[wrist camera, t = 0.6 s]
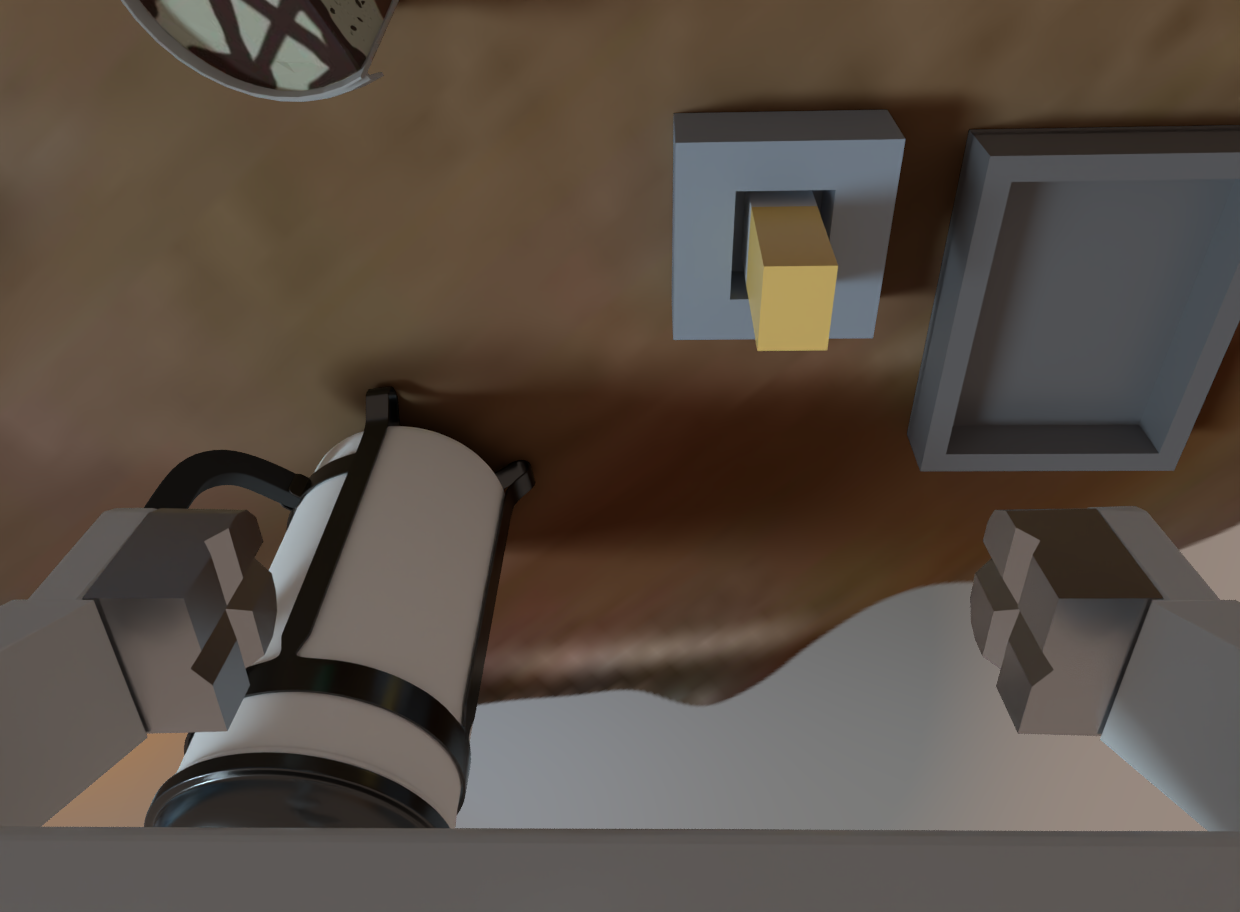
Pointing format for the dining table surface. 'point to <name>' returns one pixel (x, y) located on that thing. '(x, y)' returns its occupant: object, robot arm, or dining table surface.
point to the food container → (272, 42)
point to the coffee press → (357, 635)
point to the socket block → (779, 161)
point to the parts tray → (1080, 299)
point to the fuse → (788, 270)
